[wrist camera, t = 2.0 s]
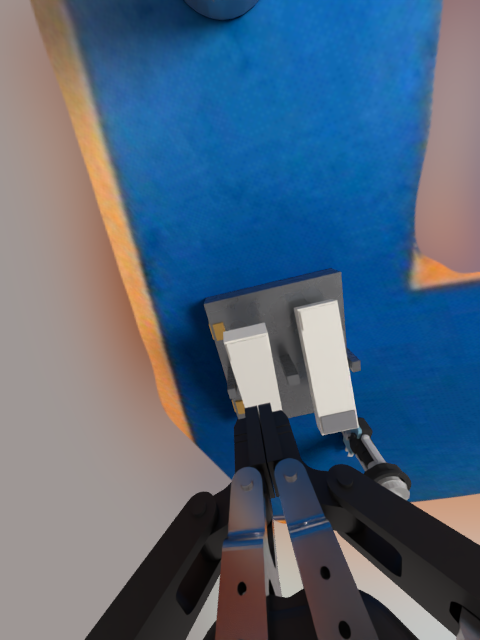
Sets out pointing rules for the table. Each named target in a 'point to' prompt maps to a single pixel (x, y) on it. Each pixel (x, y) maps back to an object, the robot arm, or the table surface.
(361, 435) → the push button
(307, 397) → the switch unit
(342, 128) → the table surface
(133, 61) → the table surface
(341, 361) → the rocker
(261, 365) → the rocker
